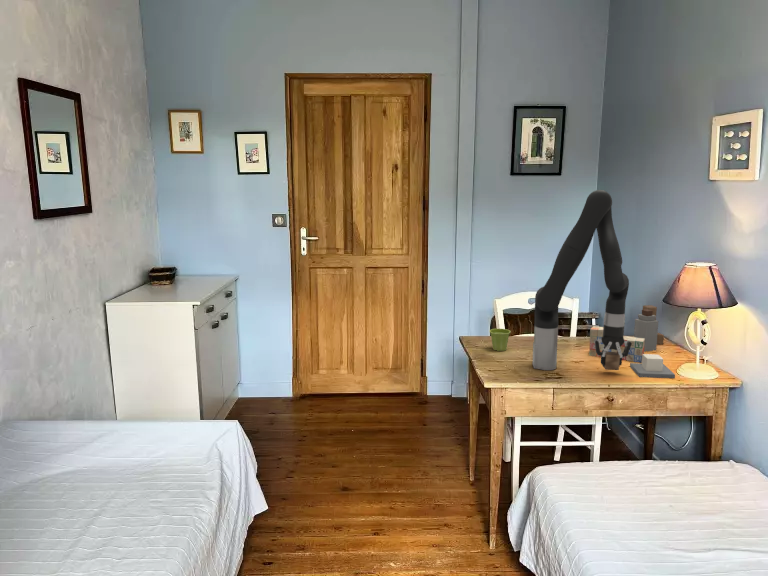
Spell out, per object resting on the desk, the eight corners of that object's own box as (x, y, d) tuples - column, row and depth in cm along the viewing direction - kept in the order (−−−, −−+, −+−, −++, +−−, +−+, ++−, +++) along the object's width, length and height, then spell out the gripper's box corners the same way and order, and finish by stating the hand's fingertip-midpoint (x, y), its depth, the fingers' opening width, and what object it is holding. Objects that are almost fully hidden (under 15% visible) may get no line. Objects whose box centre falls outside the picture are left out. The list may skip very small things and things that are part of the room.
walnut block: (605, 369, 222) (606, 354, 221) (602, 365, 227) (603, 351, 226) (618, 370, 222) (620, 355, 220) (615, 366, 226) (616, 351, 225)
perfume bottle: (633, 347, 260) (635, 309, 256) (644, 346, 262) (647, 308, 259) (644, 351, 253) (647, 312, 250) (656, 350, 256) (659, 311, 253)
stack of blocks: (643, 359, 243) (645, 331, 241) (641, 363, 238) (643, 334, 235) (591, 352, 254) (593, 325, 252) (588, 355, 249) (590, 328, 247)
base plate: (639, 377, 220) (640, 360, 219) (629, 366, 233) (630, 351, 232) (674, 378, 218) (676, 362, 217) (663, 367, 231) (664, 352, 230)
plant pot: (505, 353, 253) (506, 334, 252) (485, 350, 258) (486, 332, 256) (512, 348, 261) (513, 330, 259) (493, 345, 266) (493, 327, 264)
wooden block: (658, 341, 269) (660, 304, 266) (663, 344, 265) (666, 306, 262) (639, 342, 268) (642, 305, 265) (645, 345, 264) (647, 307, 261)
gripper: (630, 322, 224) (627, 364, 227) (592, 320, 226) (589, 362, 229) (636, 327, 216) (632, 369, 219) (596, 325, 219) (593, 367, 222)
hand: (610, 365), depth 224 cm, fingers closed on walnut block, 5 cm apart
